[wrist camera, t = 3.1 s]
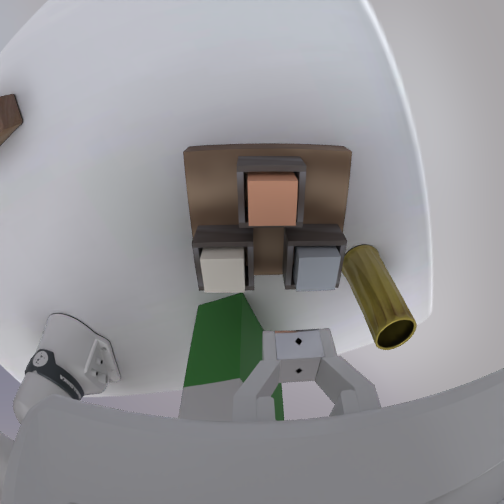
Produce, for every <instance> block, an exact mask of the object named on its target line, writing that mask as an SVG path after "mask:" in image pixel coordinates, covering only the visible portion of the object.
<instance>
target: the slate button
mask: <svg viewBox="0 0 504 504" xmlns="http://www.w3.org/2000/svg"><path fill="white" fill-rule="evenodd" d="M340 259H341V256H340V254H339V252H338V250H337V248H336V246H295V252H294V265H293V278H294V283H295V288H296V291H321V290H335V286H336V281H337V276H338V270H339V265H340Z"/></svg>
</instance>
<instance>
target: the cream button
mask: <svg viewBox="0 0 504 504" xmlns="http://www.w3.org/2000/svg"><path fill="white" fill-rule="evenodd" d="M200 263H201V270H202V277H203V284H204V291H205V293H245V253H244V247H210V248H203V250H202V253H201V257H200Z"/></svg>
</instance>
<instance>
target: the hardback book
mask: <svg viewBox="0 0 504 504" xmlns="http://www.w3.org/2000/svg"><path fill="white" fill-rule="evenodd" d="M263 331H264V330H263V329H262V327H261V325H260V323H259V322H258V320H257V318H256V316H255V314H254V313H253V311H252V309H251V307H250V305H249V304H248V302H247V300H246V298H245V296H244V295H243V293H239V294H236V295H232V296H229V297H226V298H222V299H219V300H216V301H212V302H209V303H205V304H202V305H199V306H198V311H197V316H196V321H195V326H194V331H193V337H192V342H191V347H190V353H189V358H188V364H187V369H186V375H185V381H184V386H183V393H182V398H181V405H180V411H179V418H181V419H192V420H207V421H232V415H233V396H234V395H235V393H236V392H237V391H238V389H239V388H240V387H241V386H242V384H243V383H244V382H245V380H246V379H247V378H248V377H249V375H250V374H251V373H252V371H253V370H254V369H255V367H256V366H257V365H258V363H259V362H260V361H262V336H263ZM271 397H272V398H273V399H274V407H275V421H284V411H283V398H282V386H281V383H278V385H277V387H276V389H275V390H274V392H273V394H272V395H271Z"/></svg>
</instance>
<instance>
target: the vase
mask: <svg viewBox="0 0 504 504" xmlns="http://www.w3.org/2000/svg"><path fill="white" fill-rule="evenodd" d="M342 273H343V274H344V276H345V277H346V278H347V280H348V282H349V284H350V286H351V289H352V291H353V293H354V295H355V298H356V300H357V302H358V304H359V306H360V308H361V310H362V312H363V314H364V317H365V320H366V322H367V325H368V327H369V330H370V332H371V334H372V337H373V340H374V342H375V344H376V346H377V347H378V348H380V349H383V350H390V349H394V348H396V347H399V346H401V345H402V344H404V343H405V342H406V341H408V340H409V339H410V338H411V337H412V335H413V334H414V332H415V330H416V322H415V320H414V318H413V316H412V314H411V312H410V311H409V309H408V307H407V305H406V303H405V301H404V299H403V297H402V296H401V294H400V292H399V290H398V289H397V287H396V285H395V283H394V281H393V279H392V278H391V276H390V274H389V272H388V271H387V269H386V267H385V265H384V263H383V262H382V260H381V258H380V256H379V253H378V251H377V250H376V249H375V248H374V247H372V246H369V245H361V246H357V247H355V248H353V249H351V250H350V251H349V252H348V253H347V254H346V255H345V256H344V261H343V266H342Z"/></svg>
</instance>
